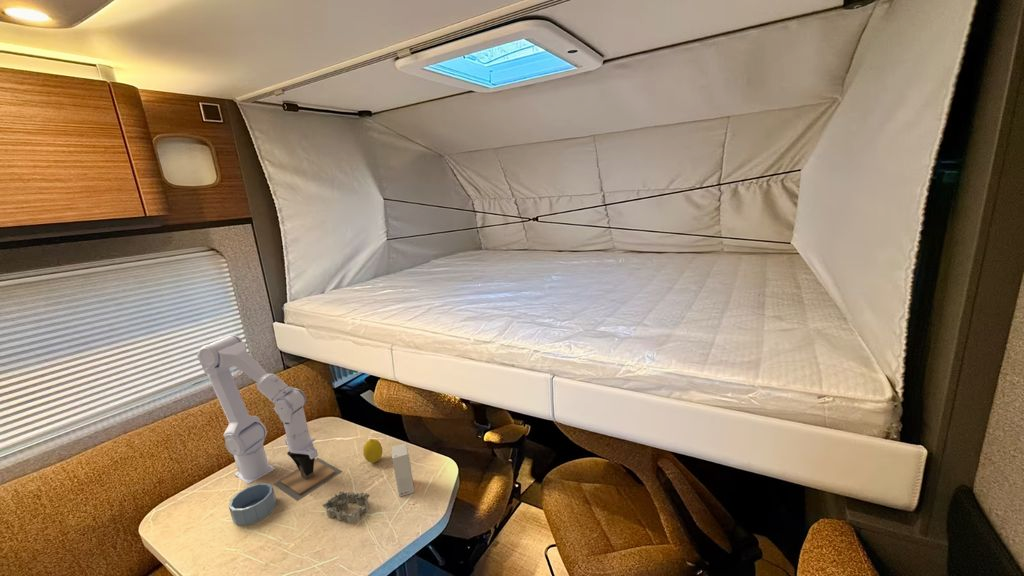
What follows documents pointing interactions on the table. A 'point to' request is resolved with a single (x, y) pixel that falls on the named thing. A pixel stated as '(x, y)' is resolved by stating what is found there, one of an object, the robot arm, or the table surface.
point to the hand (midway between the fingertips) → (306, 471)
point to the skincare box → (402, 469)
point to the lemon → (372, 450)
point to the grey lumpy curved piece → (343, 506)
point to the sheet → (307, 478)
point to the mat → (298, 497)
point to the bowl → (252, 504)
